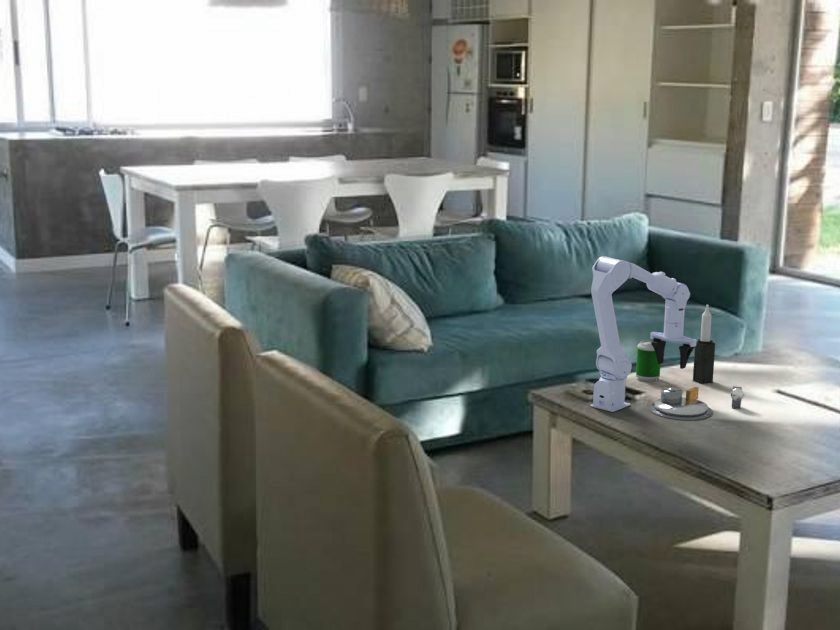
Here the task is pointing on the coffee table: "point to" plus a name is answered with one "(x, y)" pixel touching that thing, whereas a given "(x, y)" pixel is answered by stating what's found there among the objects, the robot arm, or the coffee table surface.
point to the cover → (671, 396)
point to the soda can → (647, 362)
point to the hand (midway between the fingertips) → (671, 365)
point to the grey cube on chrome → (737, 397)
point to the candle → (704, 352)
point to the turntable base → (654, 411)
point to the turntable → (684, 405)
